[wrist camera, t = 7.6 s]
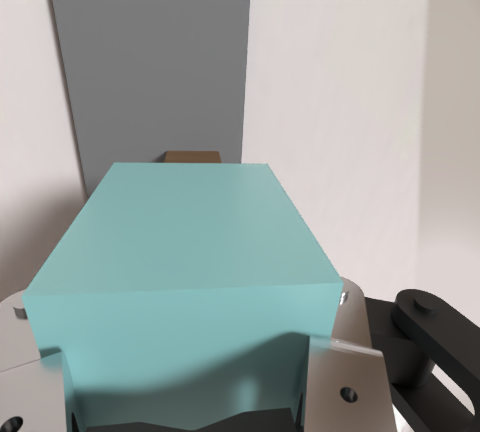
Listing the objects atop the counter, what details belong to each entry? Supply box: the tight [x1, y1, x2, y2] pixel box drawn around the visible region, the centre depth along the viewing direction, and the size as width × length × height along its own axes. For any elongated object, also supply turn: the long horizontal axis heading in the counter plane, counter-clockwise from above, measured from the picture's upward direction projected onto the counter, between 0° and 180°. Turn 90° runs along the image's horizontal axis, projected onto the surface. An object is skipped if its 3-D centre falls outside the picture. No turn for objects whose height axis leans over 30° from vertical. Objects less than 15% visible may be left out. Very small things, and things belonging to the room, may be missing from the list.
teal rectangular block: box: [21, 162, 344, 430], centre depth 9 cm, size 5×5×7 cm
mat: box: [52, 0, 250, 199], centre depth 14 cm, size 24×8×1 cm, turn 177°
